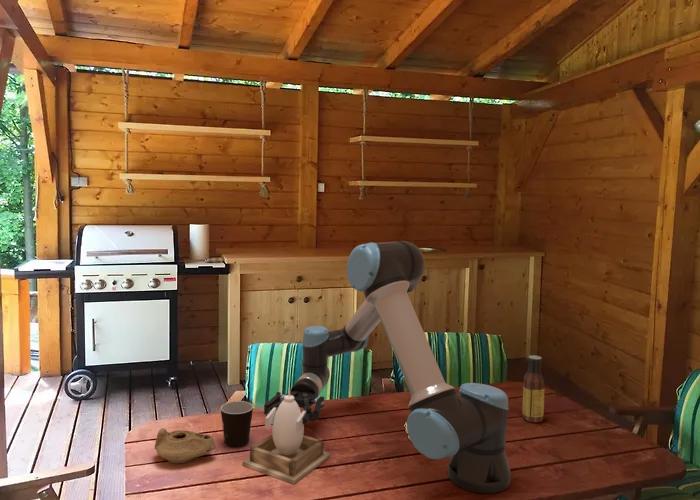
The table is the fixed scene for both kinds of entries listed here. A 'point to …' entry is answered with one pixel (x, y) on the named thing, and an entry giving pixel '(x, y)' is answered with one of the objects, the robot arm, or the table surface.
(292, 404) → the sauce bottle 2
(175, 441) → the oil lamp
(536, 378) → the sauce bottle
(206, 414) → the table surface
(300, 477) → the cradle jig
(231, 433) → the coffee mug
